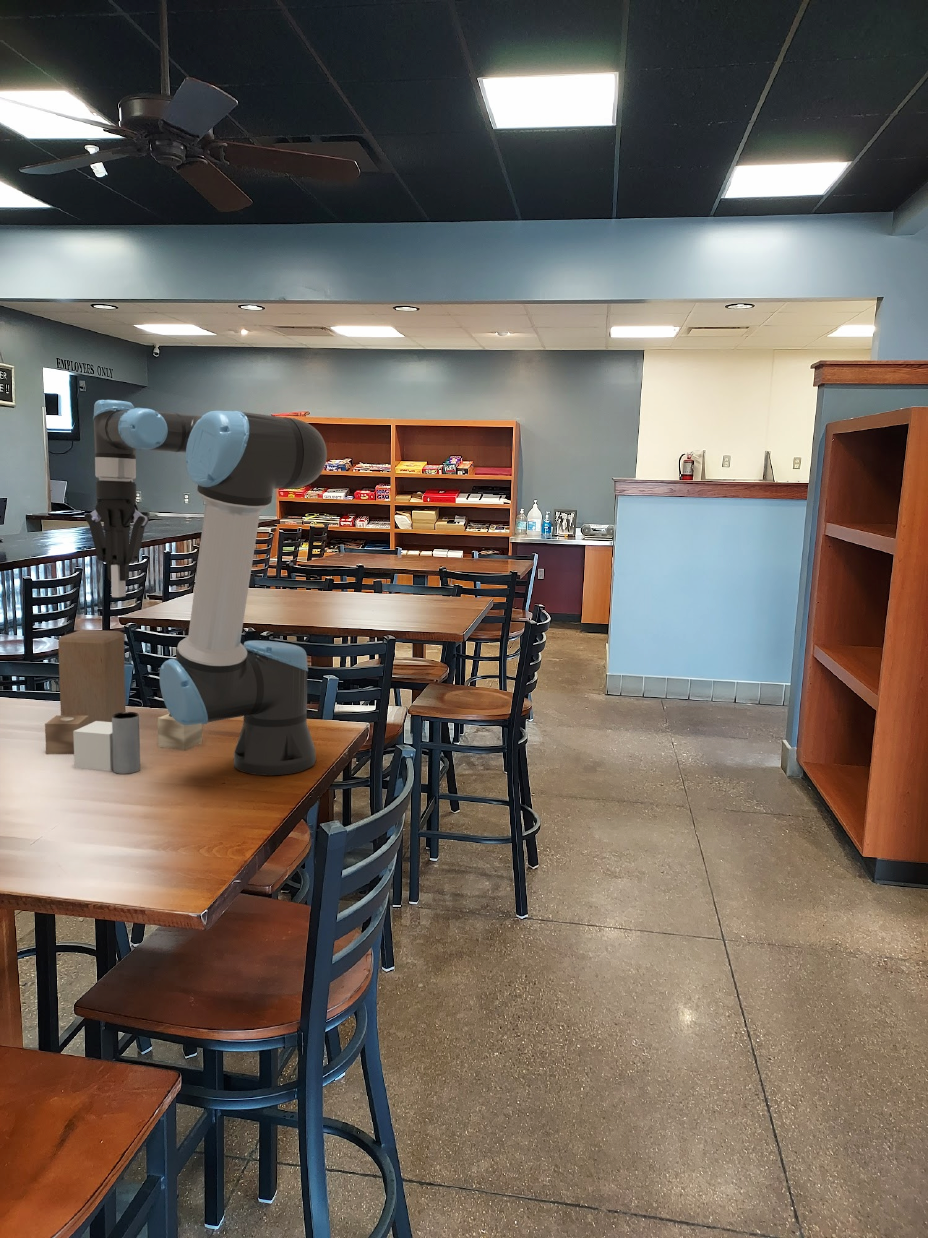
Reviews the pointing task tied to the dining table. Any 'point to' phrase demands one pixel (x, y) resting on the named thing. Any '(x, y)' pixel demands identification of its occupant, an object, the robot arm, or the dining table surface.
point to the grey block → (94, 746)
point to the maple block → (177, 734)
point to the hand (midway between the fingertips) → (118, 596)
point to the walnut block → (63, 733)
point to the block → (92, 674)
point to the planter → (126, 742)
